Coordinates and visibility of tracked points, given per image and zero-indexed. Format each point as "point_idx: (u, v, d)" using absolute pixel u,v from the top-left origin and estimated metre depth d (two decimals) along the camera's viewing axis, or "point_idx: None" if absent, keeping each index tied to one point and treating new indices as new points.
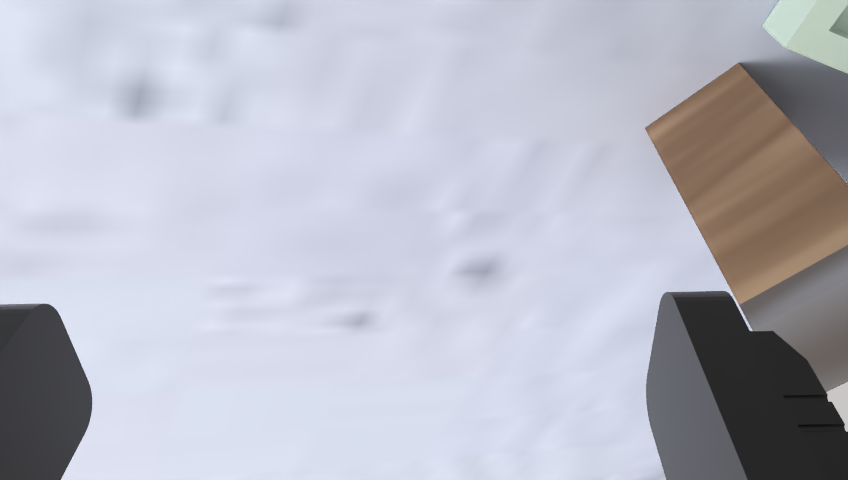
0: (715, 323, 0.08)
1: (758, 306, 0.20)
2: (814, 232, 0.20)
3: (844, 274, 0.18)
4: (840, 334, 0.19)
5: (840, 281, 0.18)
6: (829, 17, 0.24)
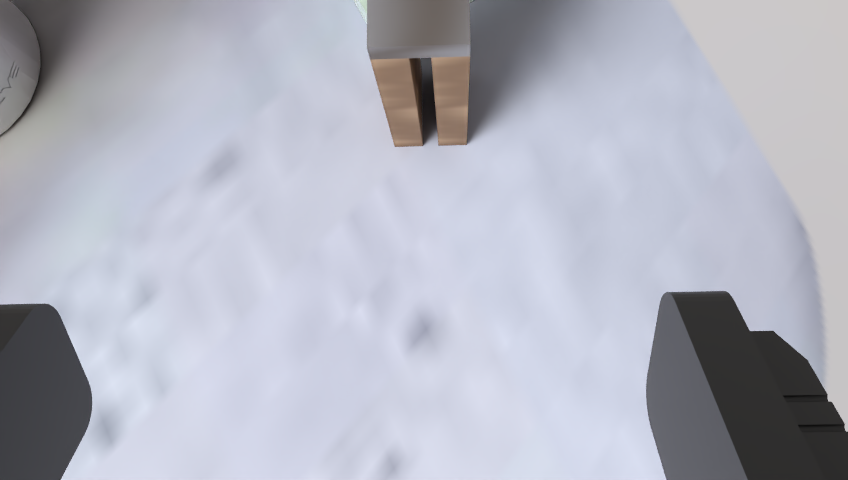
0: (715, 323, 0.08)
1: None
2: None
3: None
4: (415, 1, 0.26)
5: None
6: None
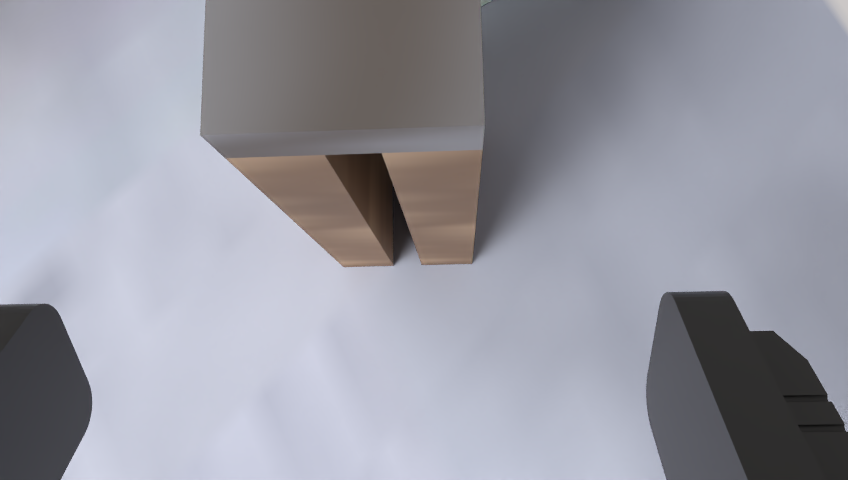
0: (715, 323, 0.08)
1: None
2: None
3: None
4: (335, 8, 0.09)
5: None
6: None
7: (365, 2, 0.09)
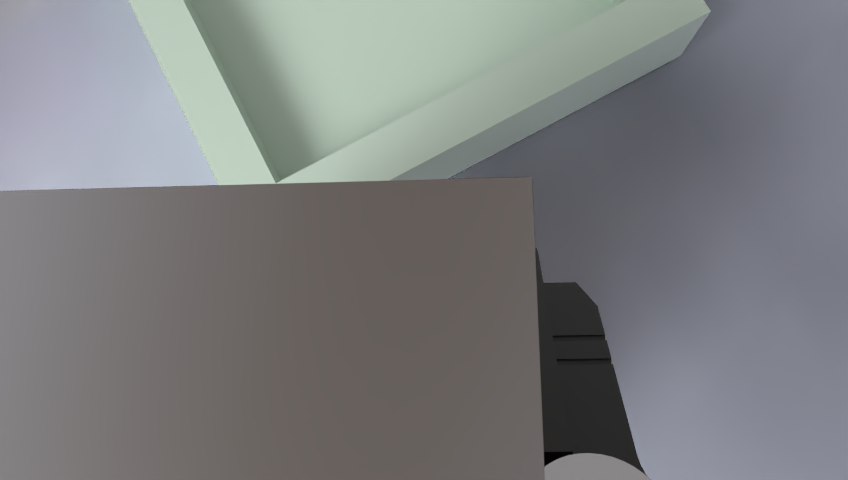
0: None
1: None
2: None
3: None
4: None
5: None
6: (256, 173, 0.14)
7: None
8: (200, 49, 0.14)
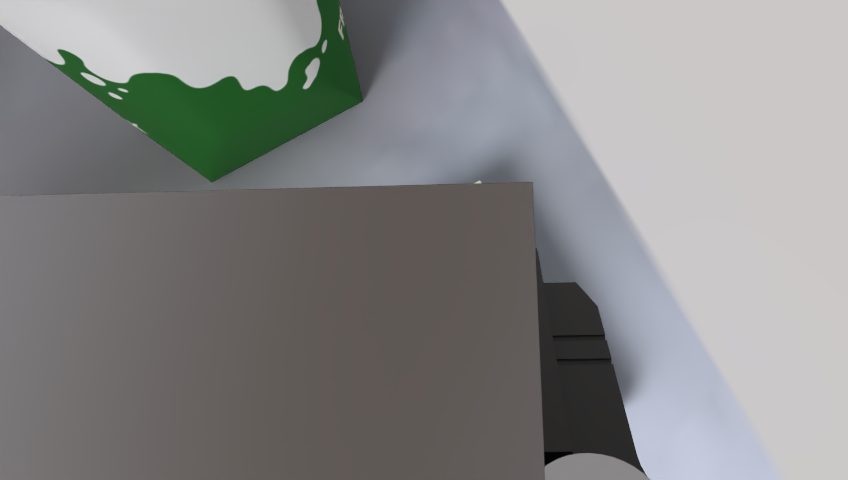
0: None
1: None
2: None
3: None
4: None
5: None
6: None
7: None
8: None
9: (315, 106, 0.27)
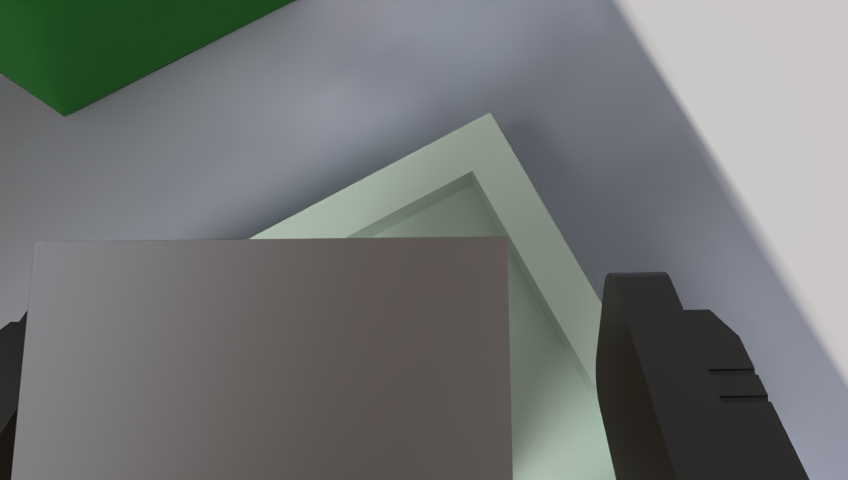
0: (650, 301, 0.09)
1: None
2: None
3: None
4: None
5: (29, 455, 0.05)
6: None
7: None
8: None
9: None
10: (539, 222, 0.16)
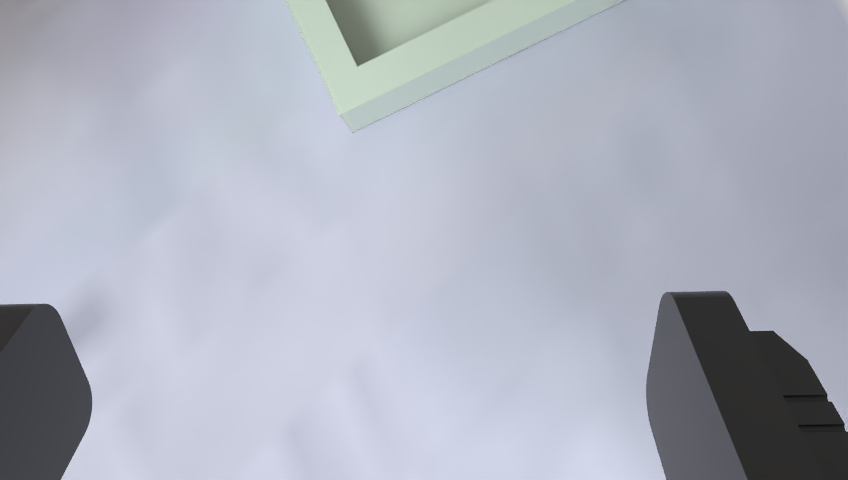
0: (715, 323, 0.08)
1: None
2: None
3: None
4: None
5: None
6: (343, 59, 0.20)
7: None
8: None
9: None
10: None
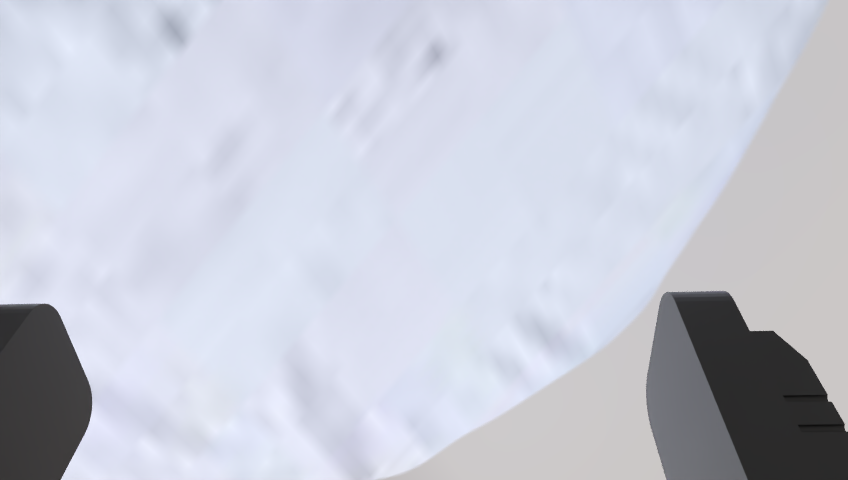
0: (715, 323, 0.08)
1: None
2: None
3: None
4: None
5: None
6: None
7: None
8: None
9: None
10: None
